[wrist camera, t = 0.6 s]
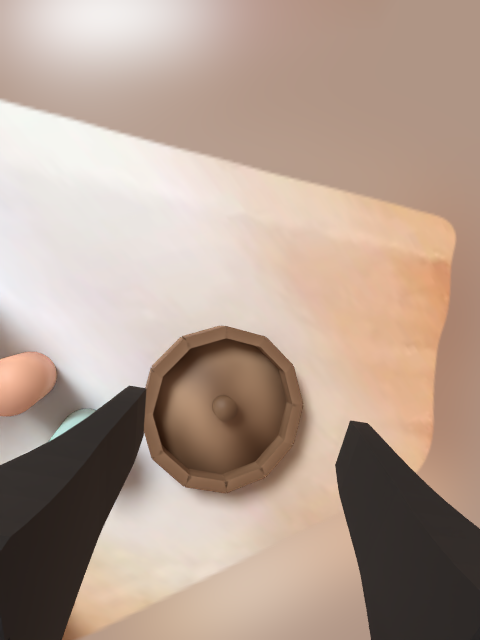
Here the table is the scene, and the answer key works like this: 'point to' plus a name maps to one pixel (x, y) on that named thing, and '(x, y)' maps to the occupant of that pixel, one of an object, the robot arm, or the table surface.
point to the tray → (221, 409)
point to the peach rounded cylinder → (24, 381)
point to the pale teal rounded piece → (72, 421)
